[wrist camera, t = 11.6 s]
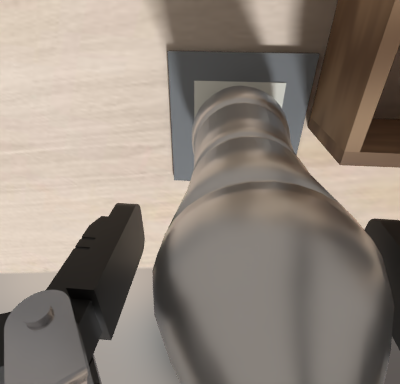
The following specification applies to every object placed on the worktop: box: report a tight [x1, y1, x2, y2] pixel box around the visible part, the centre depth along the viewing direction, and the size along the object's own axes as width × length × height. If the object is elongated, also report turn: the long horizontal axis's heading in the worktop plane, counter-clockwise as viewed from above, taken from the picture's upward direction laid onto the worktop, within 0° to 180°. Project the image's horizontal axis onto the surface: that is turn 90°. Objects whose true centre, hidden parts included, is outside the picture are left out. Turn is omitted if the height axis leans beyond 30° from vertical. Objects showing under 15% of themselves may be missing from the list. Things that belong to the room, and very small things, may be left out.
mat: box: [168, 51, 319, 181], centre depth 20 cm, size 10×10×1 cm
